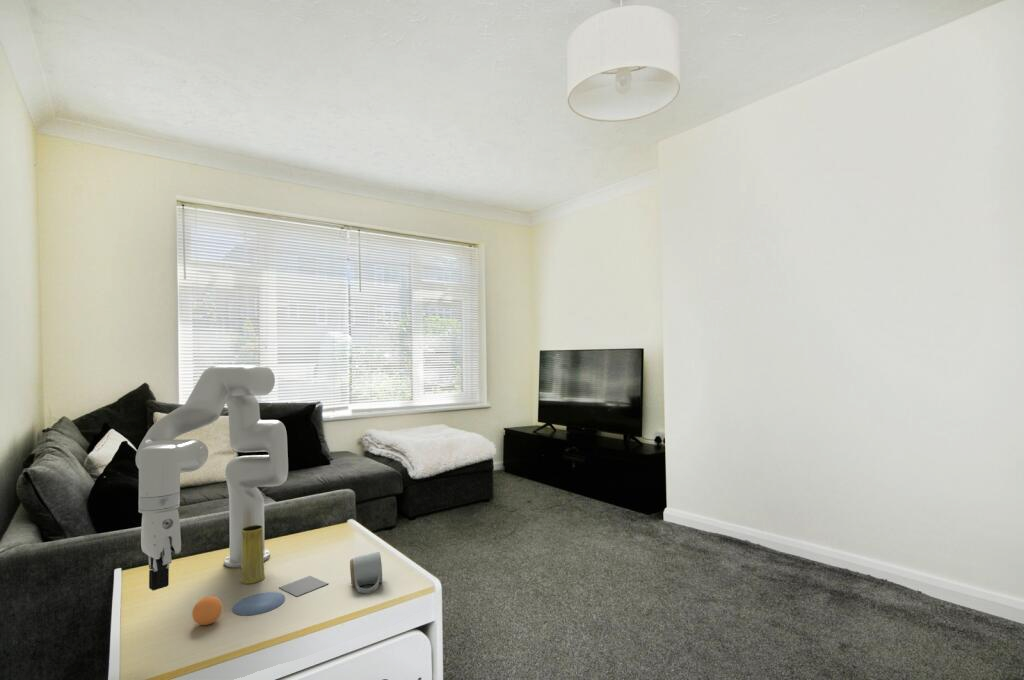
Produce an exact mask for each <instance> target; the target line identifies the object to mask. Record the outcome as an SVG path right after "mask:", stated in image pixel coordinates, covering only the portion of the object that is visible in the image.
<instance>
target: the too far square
mask: <svg viewBox="0 0 1024 680" xmlns="http://www.w3.org/2000/svg"><path fill="white" fill-rule="evenodd" d="M327 585H329V583H328V582H326V581H323V580H321V579H318V578H316V577H314V576H311V575H308V576H305V577H303V578H300V579H298V580H295V581H292V582H290V583H288V584H285V585H284V584H283V585H282V586H279V587H278V589H279V590H280V589H281V590H282V591H284V592H286V593H288V594H290V595H292V596H294V597H296V598H297V597H300V596H303V595H305V594H308V593H310V592H312V591H315V590H318V589H320V588H323V587H325V586H327Z"/></svg>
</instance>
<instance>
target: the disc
mask: <svg viewBox="0 0 1024 680" xmlns="http://www.w3.org/2000/svg"><path fill="white" fill-rule="evenodd" d="M285 601H286V596H285V595H284V594H283V593H281V592H277V591H265V592H264V591H263V592H259V593H255V594H250V595H248V596H245V597H243V598H241V599H239V600H238V601H237V602H235V603H234V604H233V605H232V607H231V611H232V613H233V614H235V615H236V616H247V617H248V616H255V615H261V614H265V613H268V612H270V611H272V610H275V609H277V608H279V607H280V606H282V604H284V603H285Z"/></svg>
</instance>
